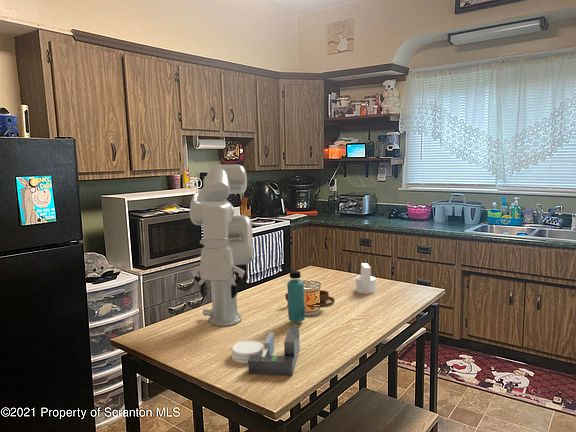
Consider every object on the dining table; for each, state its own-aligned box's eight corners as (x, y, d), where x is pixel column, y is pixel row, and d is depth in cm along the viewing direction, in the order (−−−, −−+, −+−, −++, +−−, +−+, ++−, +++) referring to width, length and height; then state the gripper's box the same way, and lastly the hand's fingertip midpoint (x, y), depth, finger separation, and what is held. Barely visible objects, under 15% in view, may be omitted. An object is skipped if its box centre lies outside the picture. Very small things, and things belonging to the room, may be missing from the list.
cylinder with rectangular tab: (377, 293, 196) (377, 267, 195) (357, 293, 197) (357, 268, 195) (373, 287, 205) (373, 262, 204) (354, 287, 205) (354, 263, 204)
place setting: (332, 311, 177) (332, 297, 176) (284, 309, 181) (284, 295, 181) (336, 297, 194) (336, 285, 193) (292, 296, 198) (292, 283, 197)
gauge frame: (248, 373, 127) (247, 347, 126) (260, 348, 144) (259, 325, 143) (292, 375, 125) (291, 349, 124) (299, 349, 142) (299, 326, 141)
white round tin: (233, 366, 133) (232, 355, 132) (230, 352, 142) (230, 341, 142) (265, 362, 135) (265, 351, 134) (260, 348, 144) (260, 338, 144)
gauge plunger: (261, 369, 128) (260, 351, 127) (269, 349, 141) (269, 332, 140) (266, 369, 128) (265, 351, 127) (274, 349, 141) (273, 332, 140)
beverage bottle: (303, 326, 161) (302, 274, 158) (286, 325, 162) (284, 273, 160) (306, 319, 167) (305, 269, 165) (289, 319, 169) (288, 269, 166)
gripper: (185, 245, 134) (188, 299, 136) (240, 246, 131) (242, 300, 133) (194, 241, 141) (197, 292, 143) (246, 241, 138) (248, 293, 140)
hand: (219, 296), depth 138 cm, fingers open, 9 cm apart
